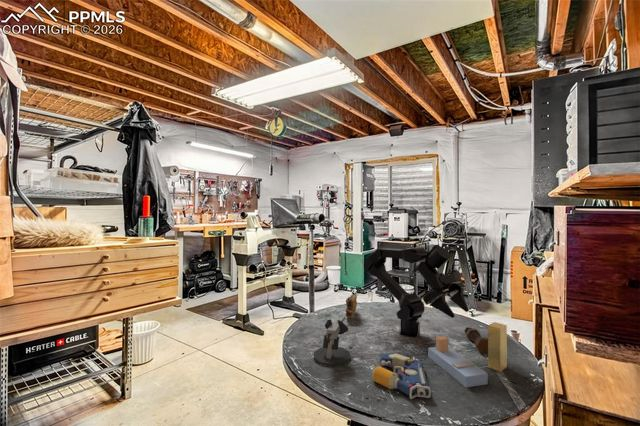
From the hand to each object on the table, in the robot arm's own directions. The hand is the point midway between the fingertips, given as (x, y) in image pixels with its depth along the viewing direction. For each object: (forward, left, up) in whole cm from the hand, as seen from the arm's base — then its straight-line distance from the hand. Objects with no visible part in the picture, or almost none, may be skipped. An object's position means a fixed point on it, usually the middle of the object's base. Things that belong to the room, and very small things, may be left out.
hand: (460, 314), depth 103 cm
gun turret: (-37, -21, -14) cm, 45 cm away
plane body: (0, -11, -14) cm, 18 cm away
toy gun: (-14, -25, -14) cm, 32 cm away
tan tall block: (+11, -3, -14) cm, 18 cm away
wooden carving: (-47, +15, -14) cm, 51 cm away
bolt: (+4, +12, -14) cm, 19 cm away
